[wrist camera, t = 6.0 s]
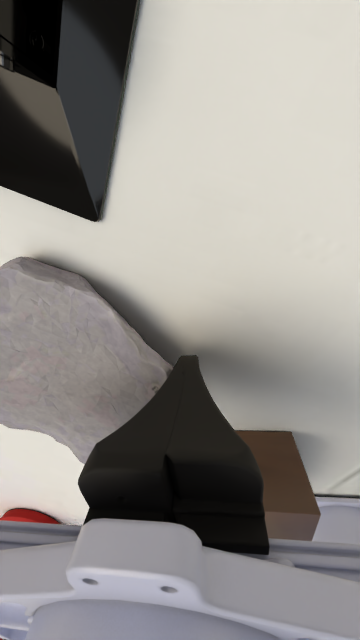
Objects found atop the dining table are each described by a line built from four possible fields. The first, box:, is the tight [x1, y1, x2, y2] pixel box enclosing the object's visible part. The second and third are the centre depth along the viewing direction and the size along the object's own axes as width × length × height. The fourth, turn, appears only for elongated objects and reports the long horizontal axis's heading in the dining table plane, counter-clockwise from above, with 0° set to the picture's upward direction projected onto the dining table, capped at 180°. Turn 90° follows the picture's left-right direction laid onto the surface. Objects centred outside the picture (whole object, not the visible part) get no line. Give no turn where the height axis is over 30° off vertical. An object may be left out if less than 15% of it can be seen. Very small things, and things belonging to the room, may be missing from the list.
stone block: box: [0, 257, 173, 464], centre depth 14 cm, size 12×5×10 cm
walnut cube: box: [236, 431, 321, 541], centre depth 16 cm, size 5×5×5 cm
